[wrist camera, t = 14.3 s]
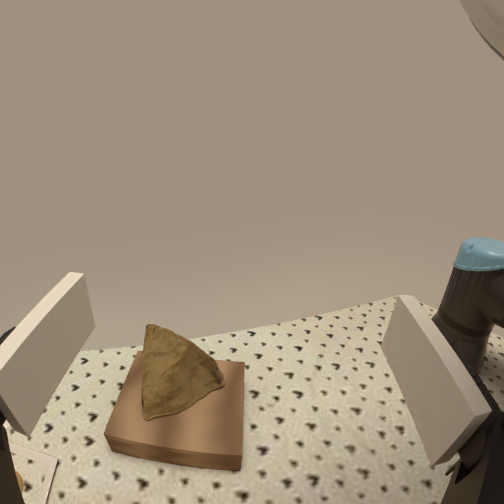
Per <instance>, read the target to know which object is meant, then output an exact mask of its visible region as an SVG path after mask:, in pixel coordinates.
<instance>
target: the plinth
mask: <svg viewBox="0 0 504 504" xmlns="http://www.w3.org/2000/svg"><path fill="white" fill-rule="evenodd" d="M215 361H216V363H217V365H218V367H219V369H220V371H221V372H222V374H223V376H224V381H225V384H224V385H223V386H222V387H219V388H217V389H214V390H211V391H210V392H208V393H207V395H206V396H204V397H203V398H200V399H199V400H197V401H196V402H195V403H194V404H192V405H190V407H188V408H185V409H183V410H181V411H179V412H178V413H174V414H170V415H163V416H160V417H154V418H152V419H151V420H149V421H146V420H145V419H144V413H143V408H142V397H141V388H142V371H143V351H138V352H137V354H136V357H135V359H134V361H133V364H132V366H131V368H130V370H129V373H128V375H127V377H126V380H125V382H124V385H123V387H122V389H121V392H120V394H119V397H118V399H117V401H116V404H115V406H114V409H113V411H112V414H111V416H110V419H109V421H108V424H107V427H106V429H105V432H104V436H105V438H106V440H107V442H108V444H109V446H110V448H111V450H112V451H113V452H117V453H121V454H125V455H129V456H134V457H138V458H143V459H148V460H153V461H158V462H164V463H170V464H177V465H183V466H191V467H199V468H208V469H219V470H233V471H240V468H241V460H242V443H243V404H244V367H245V362H234V361H221V360H215Z"/></svg>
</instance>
